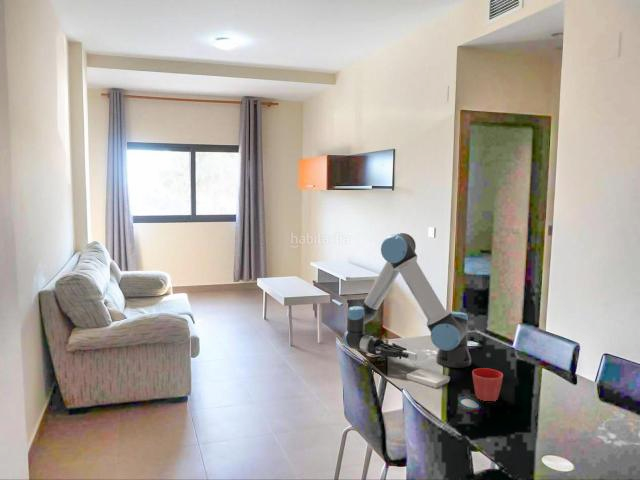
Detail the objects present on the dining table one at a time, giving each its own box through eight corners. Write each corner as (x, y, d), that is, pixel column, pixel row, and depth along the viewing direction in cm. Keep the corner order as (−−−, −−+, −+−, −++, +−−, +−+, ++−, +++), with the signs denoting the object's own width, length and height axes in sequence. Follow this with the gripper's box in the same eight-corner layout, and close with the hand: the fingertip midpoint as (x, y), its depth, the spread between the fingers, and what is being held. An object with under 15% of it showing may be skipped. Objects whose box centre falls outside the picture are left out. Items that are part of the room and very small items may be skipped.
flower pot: (504, 405, 183) (505, 379, 182) (472, 402, 185) (473, 376, 184) (500, 393, 193) (501, 369, 192) (470, 391, 195) (470, 367, 194)
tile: (420, 368, 216) (449, 376, 206) (420, 373, 216) (449, 382, 206) (406, 374, 209) (435, 383, 199) (406, 379, 209) (435, 389, 199)
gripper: (381, 350, 233) (424, 362, 216) (362, 356, 224) (406, 369, 207) (381, 334, 232) (425, 345, 215) (362, 340, 223) (406, 351, 206)
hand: (415, 357), depth 211 cm, fingers closed
